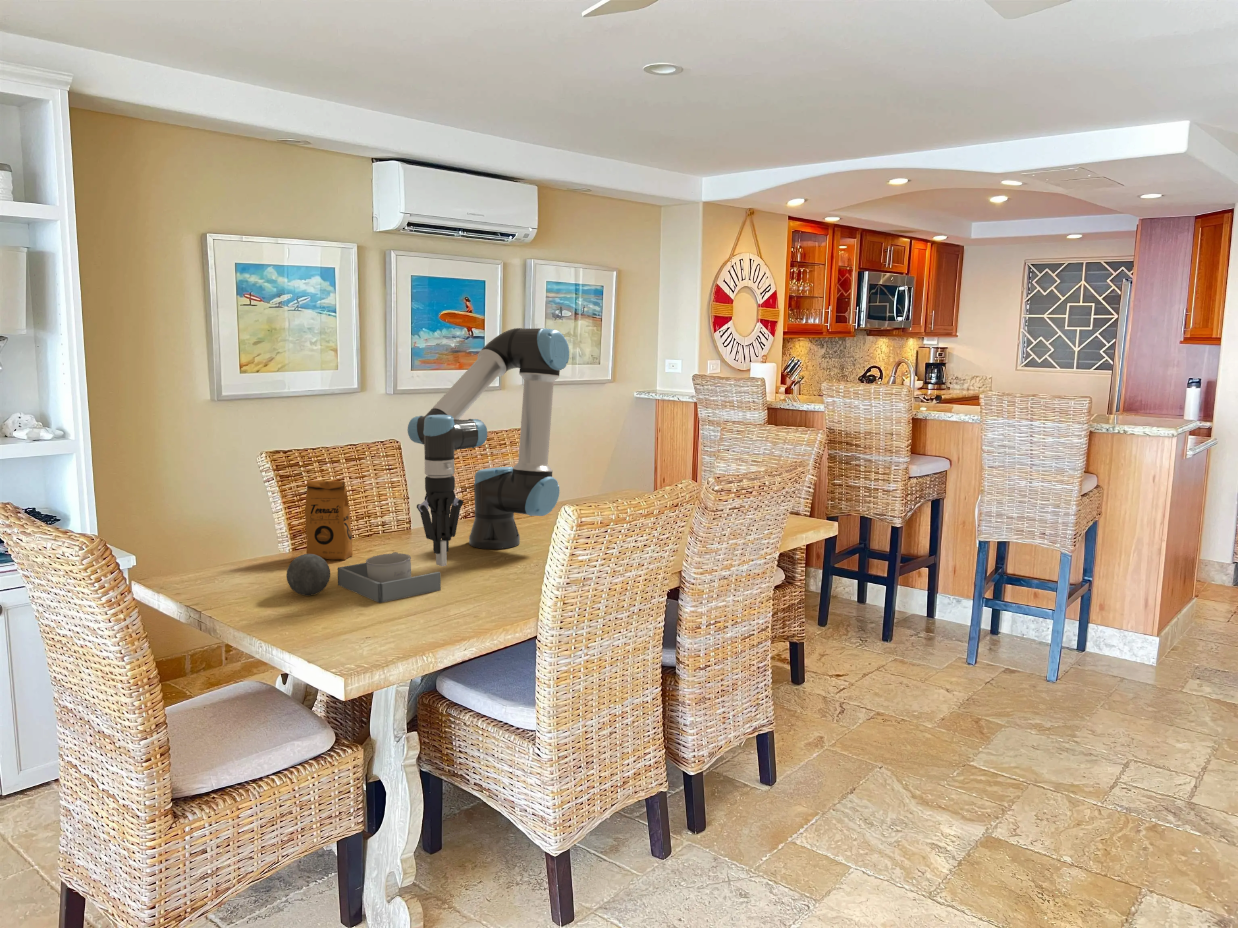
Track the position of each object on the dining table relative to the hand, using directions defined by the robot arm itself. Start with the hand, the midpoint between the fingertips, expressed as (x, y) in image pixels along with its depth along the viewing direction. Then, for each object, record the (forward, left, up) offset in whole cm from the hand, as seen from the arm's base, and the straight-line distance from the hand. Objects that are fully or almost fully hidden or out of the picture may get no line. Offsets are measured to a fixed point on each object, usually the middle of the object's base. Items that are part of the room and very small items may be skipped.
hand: (441, 564), depth 242 cm
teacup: (+15, 0, -4) cm, 15 cm away
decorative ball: (+33, -7, -4) cm, 34 cm away
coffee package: (+12, -38, -4) cm, 40 cm away
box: (+15, 0, -3) cm, 15 cm away
